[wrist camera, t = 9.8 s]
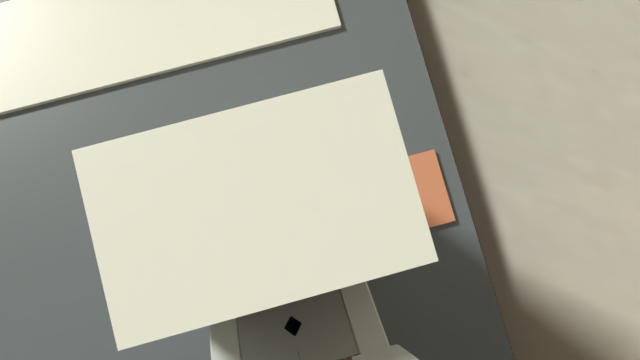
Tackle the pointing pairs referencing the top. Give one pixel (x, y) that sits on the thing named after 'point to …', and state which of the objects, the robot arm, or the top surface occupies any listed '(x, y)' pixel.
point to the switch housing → (192, 102)
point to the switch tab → (251, 208)
